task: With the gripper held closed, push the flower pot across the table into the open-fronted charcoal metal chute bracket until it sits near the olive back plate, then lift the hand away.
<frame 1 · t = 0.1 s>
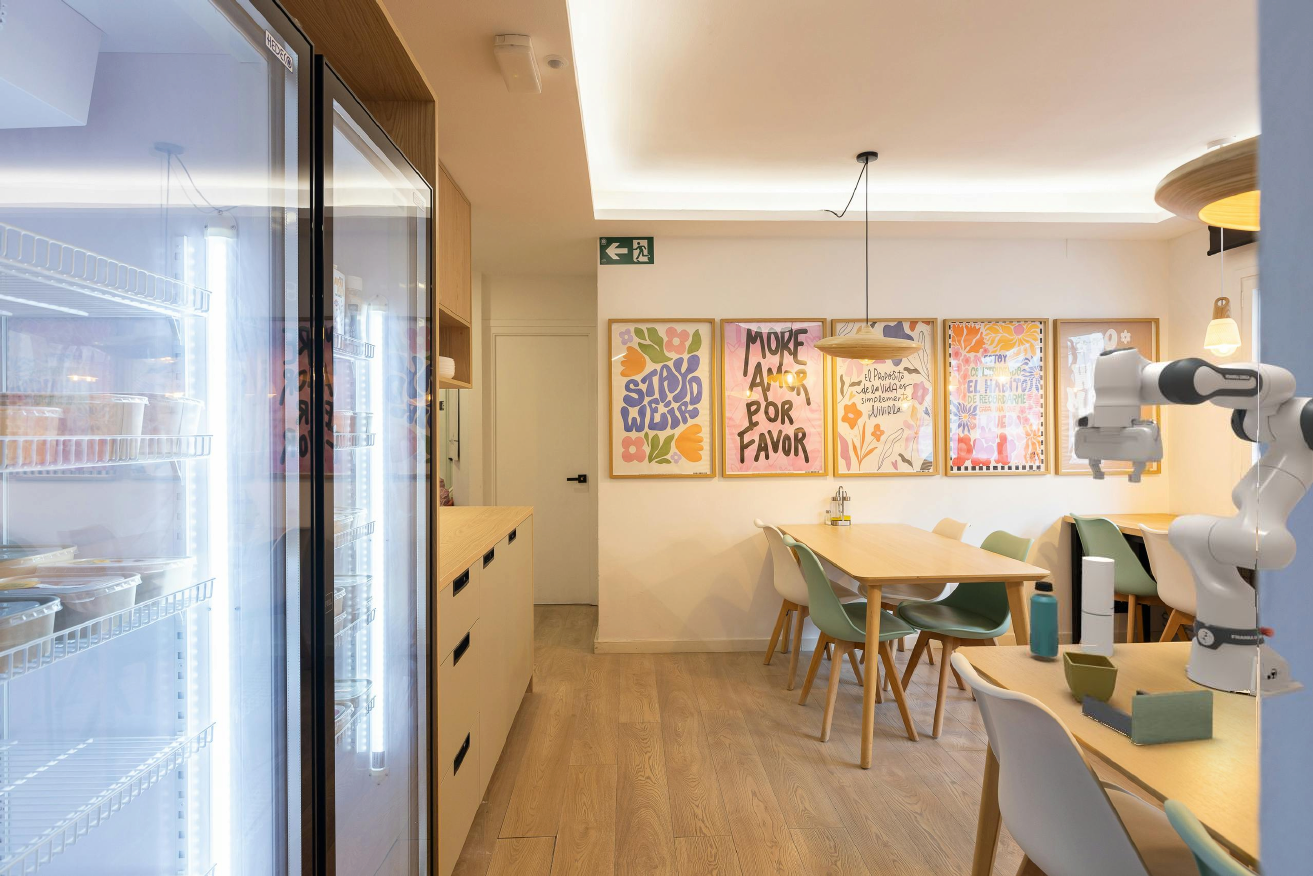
hand: (1115, 481, 151), 48 cm above the table, tool pointing down, fingers open, 8 cm apart
chute bracket: (1141, 725, 135), on the table
cylindrical container: (1097, 653, 179), on the table
flower pot: (1088, 701, 147), on the table
beverage bottle: (1043, 659, 174), on the table
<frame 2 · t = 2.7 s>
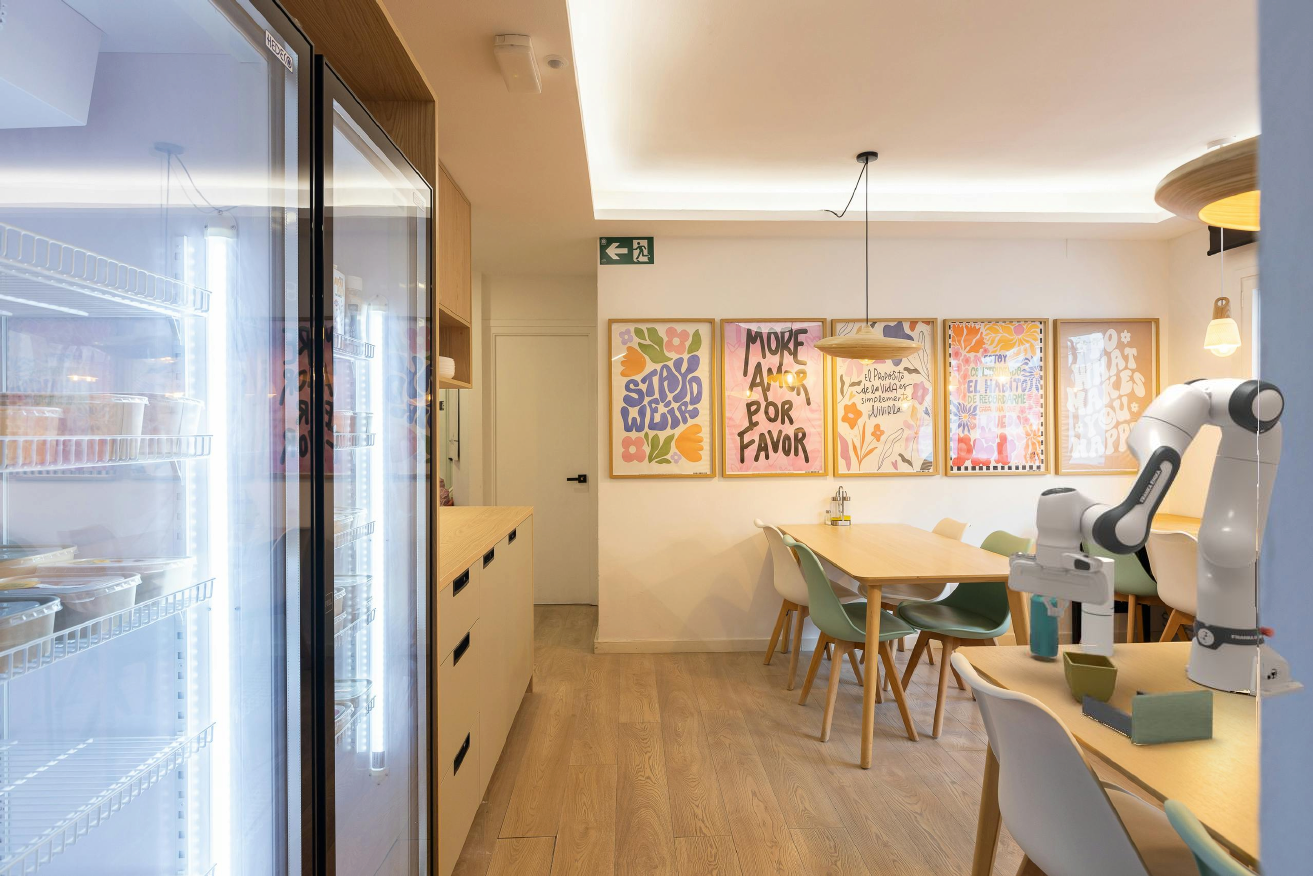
hand: (1055, 616, 156), 16 cm above the table, tool pointing down, fingers closed
nothing on the table moved.
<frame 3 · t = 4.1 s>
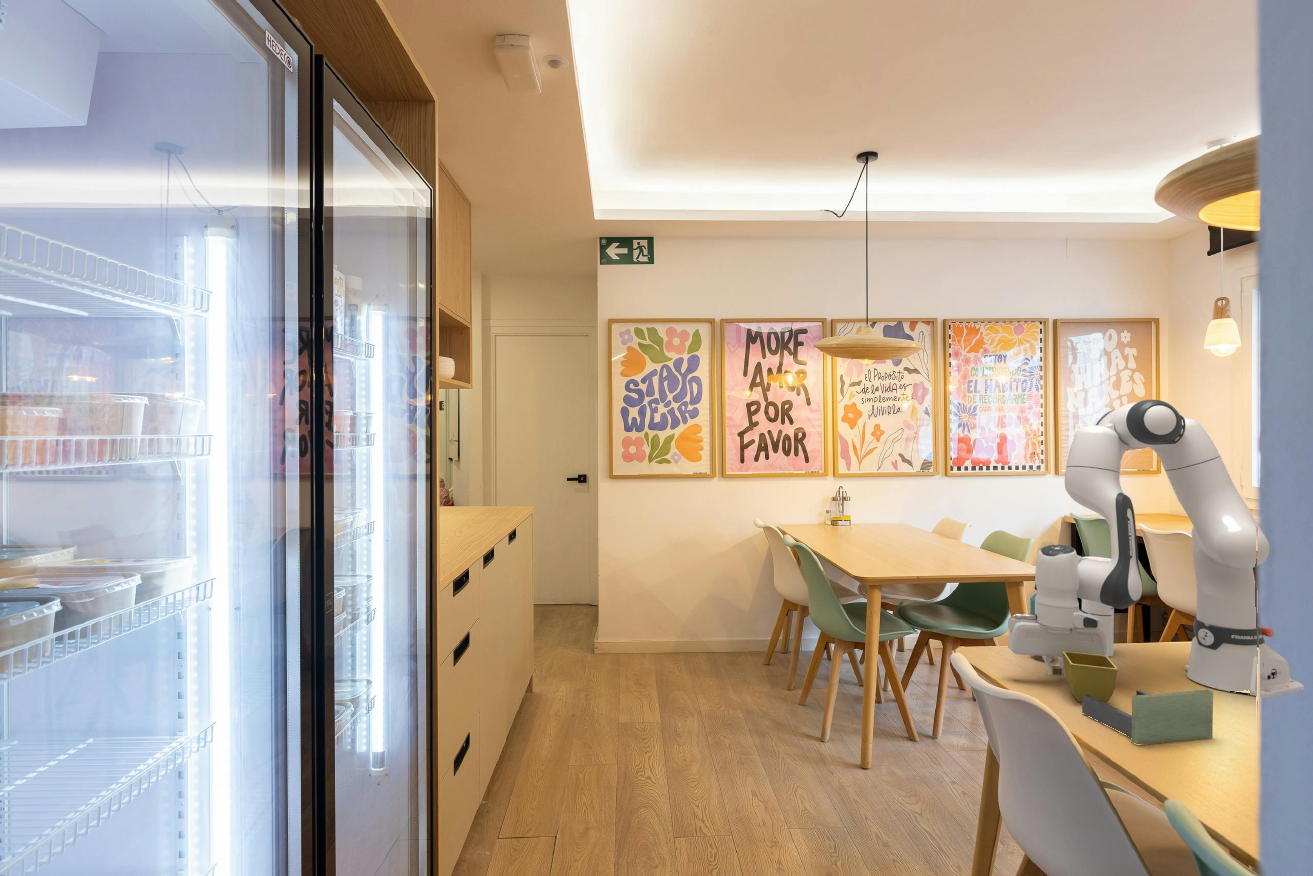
hand: (1055, 674, 157), 2 cm above the table, tool pointing down, fingers closed
nothing on the table moved.
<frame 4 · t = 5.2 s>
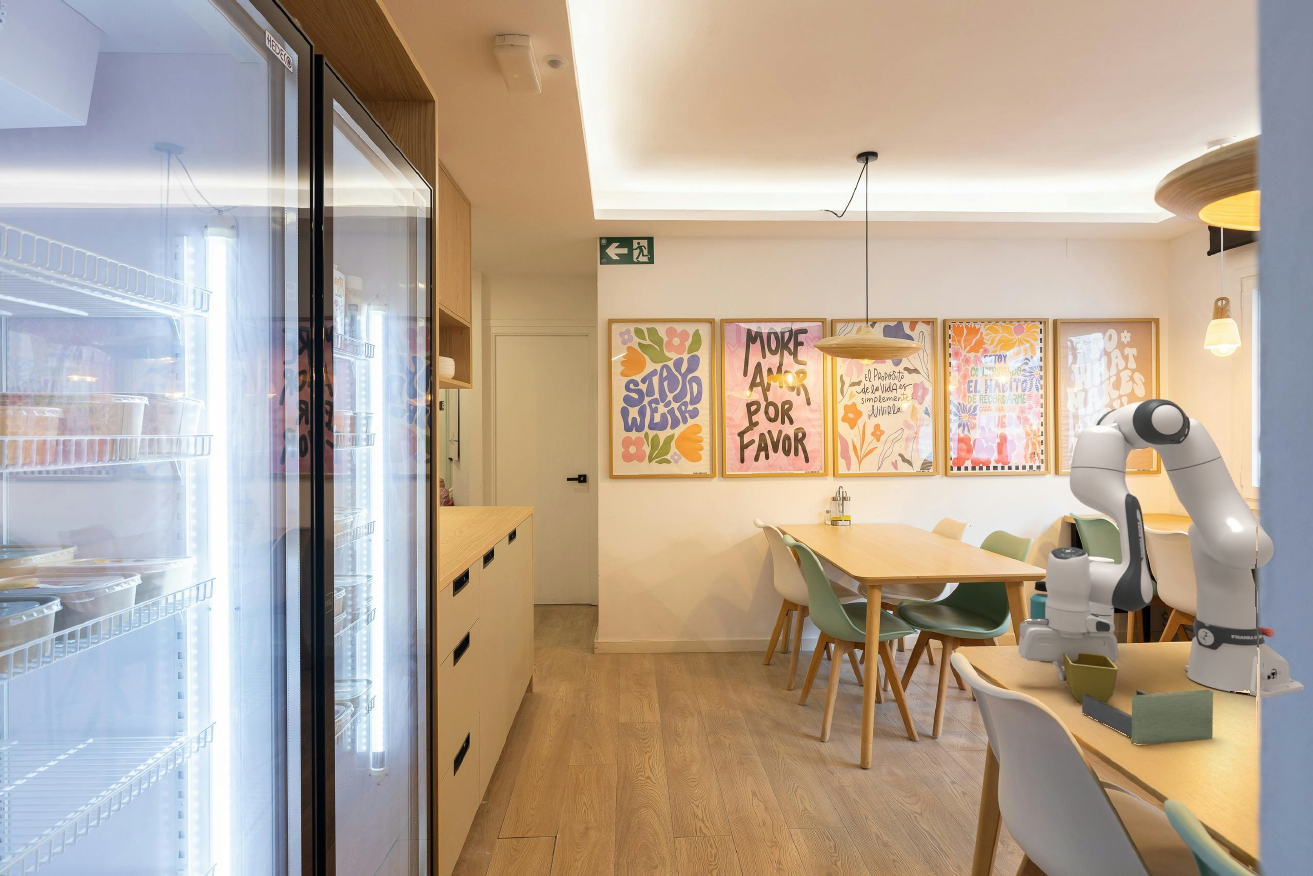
hand: (1066, 680, 153), 2 cm above the table, tool pointing down, fingers closed
flower pot: (1088, 701, 147), on the table, touching gripper
everything else where it was.
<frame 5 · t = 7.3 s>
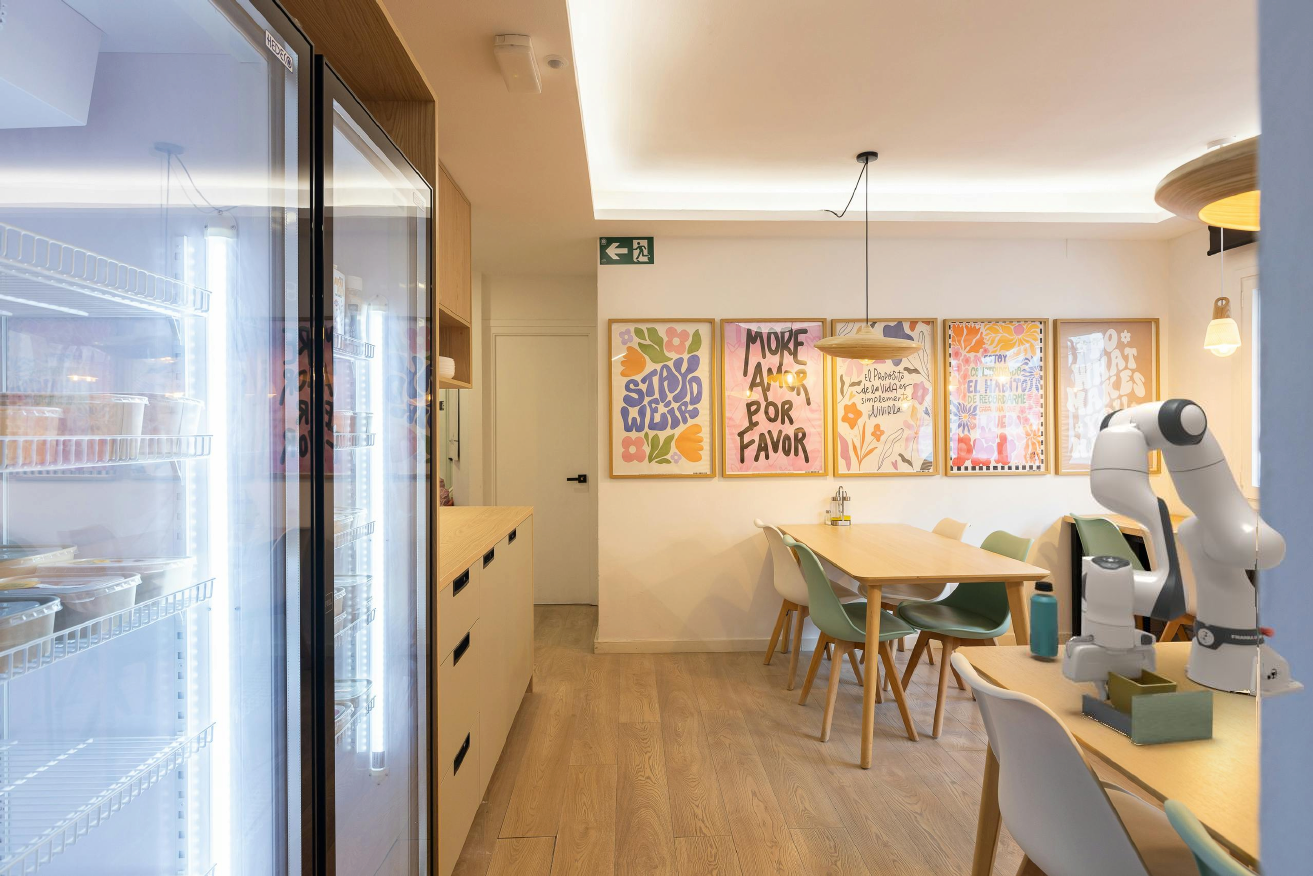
hand: (1107, 699, 142), 2 cm above the table, tool pointing down, fingers closed, pressing on flower pot
flower pot: (1139, 720, 137), on the table, touching gripper
everything else where it was.
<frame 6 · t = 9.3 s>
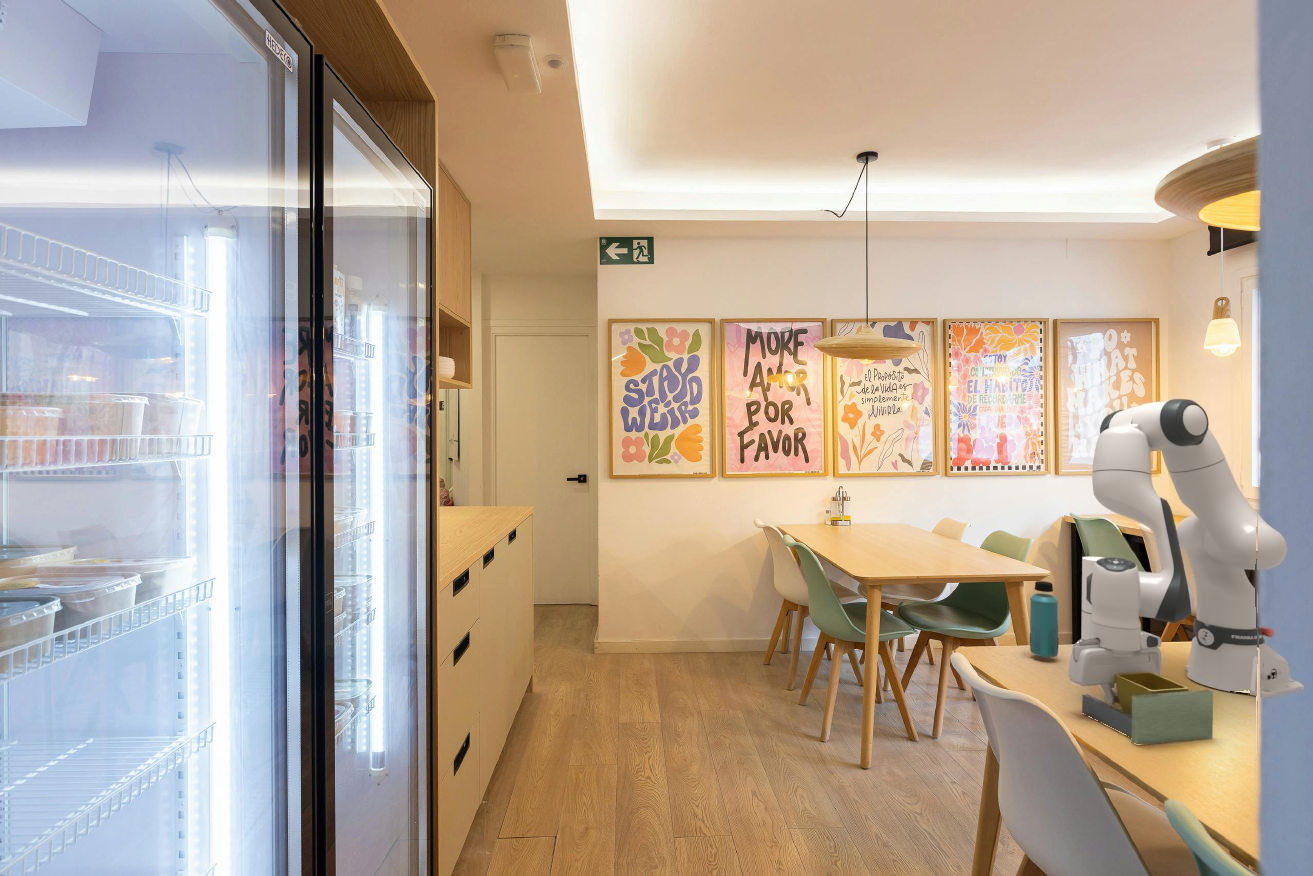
hand: (1114, 702, 141), 2 cm above the table, tool pointing down, fingers closed
flower pot: (1150, 726, 135), on the table
everything else where it was.
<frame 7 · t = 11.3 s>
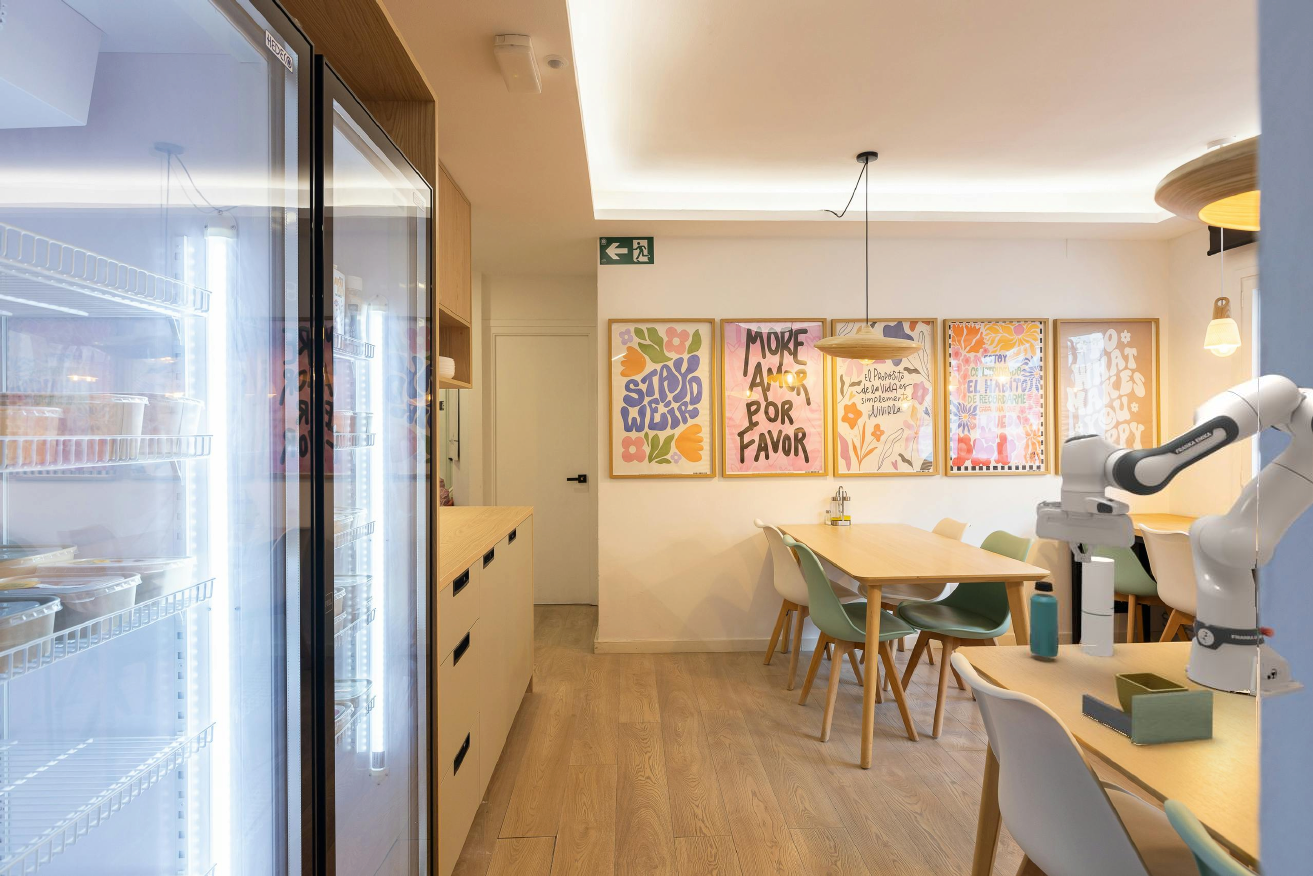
hand: (1083, 561, 158), 28 cm above the table, tool pointing down, fingers closed
nothing on the table moved.
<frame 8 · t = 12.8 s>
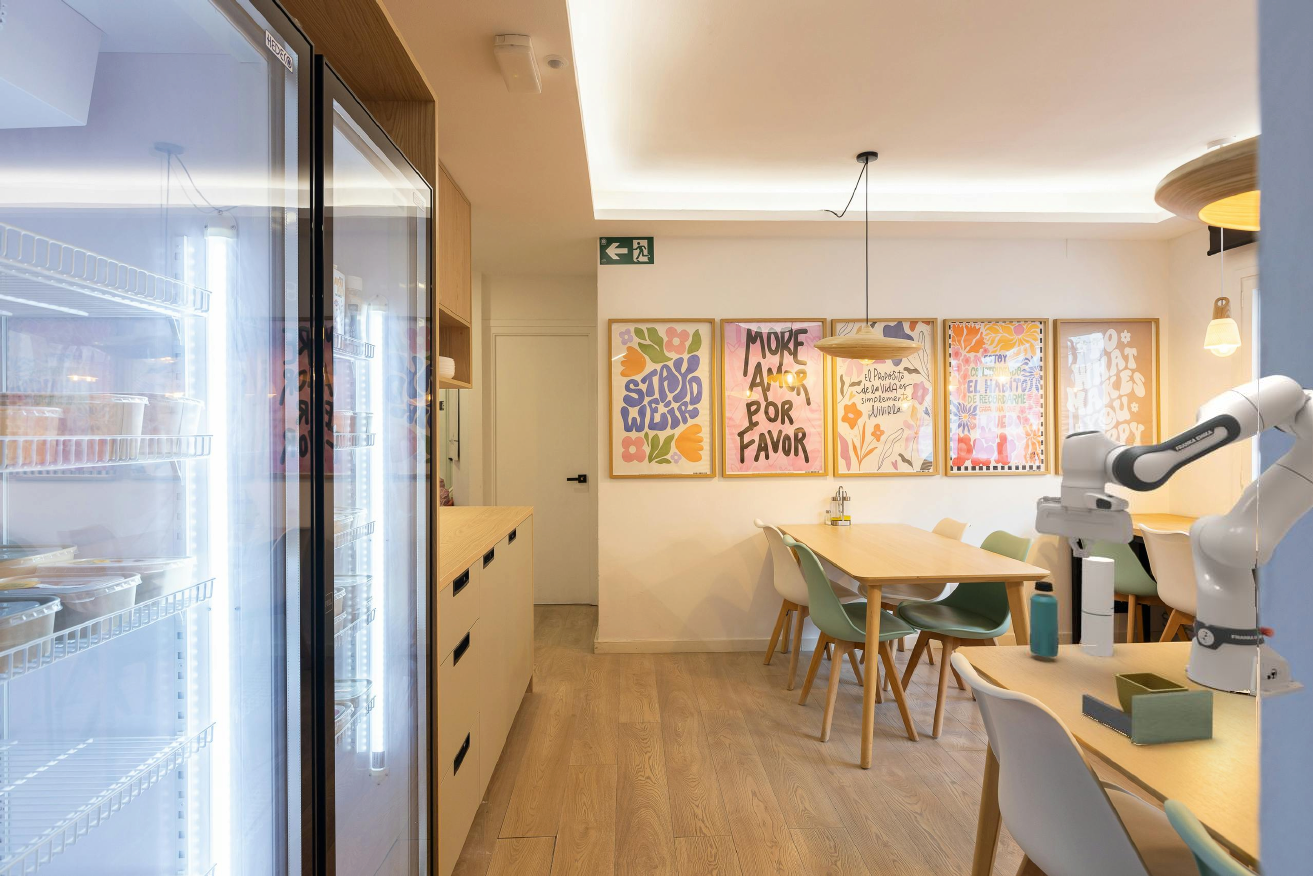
hand: (1081, 557, 159), 29 cm above the table, tool pointing down, fingers closed
nothing on the table moved.
at the end: flower pot inside the target area (2.6 cm from its centre), on the table; flower pot tilted 0° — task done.
